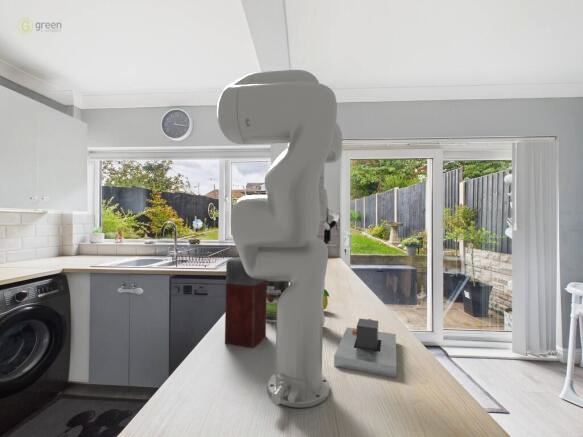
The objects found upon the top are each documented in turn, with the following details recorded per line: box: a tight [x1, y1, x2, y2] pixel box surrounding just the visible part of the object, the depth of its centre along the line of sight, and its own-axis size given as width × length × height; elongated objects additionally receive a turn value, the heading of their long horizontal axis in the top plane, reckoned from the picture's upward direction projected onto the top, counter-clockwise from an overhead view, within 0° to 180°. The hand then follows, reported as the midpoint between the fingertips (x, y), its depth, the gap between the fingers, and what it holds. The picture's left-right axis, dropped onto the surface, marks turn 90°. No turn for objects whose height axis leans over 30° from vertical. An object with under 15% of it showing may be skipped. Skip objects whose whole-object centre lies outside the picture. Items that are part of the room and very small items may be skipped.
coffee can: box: [266, 280, 290, 323], centre depth 102 cm, size 10×10×14 cm
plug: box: [356, 318, 379, 352], centre depth 76 cm, size 9×5×8 cm, turn 160°
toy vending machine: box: [224, 257, 267, 349], centre depth 84 cm, size 9×11×28 cm
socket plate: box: [333, 327, 397, 378], centre depth 75 cm, size 20×14×3 cm
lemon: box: [323, 288, 330, 310], centre depth 110 cm, size 7×6×10 cm
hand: (310, 242), depth 84 cm, fingers open, 9 cm apart
